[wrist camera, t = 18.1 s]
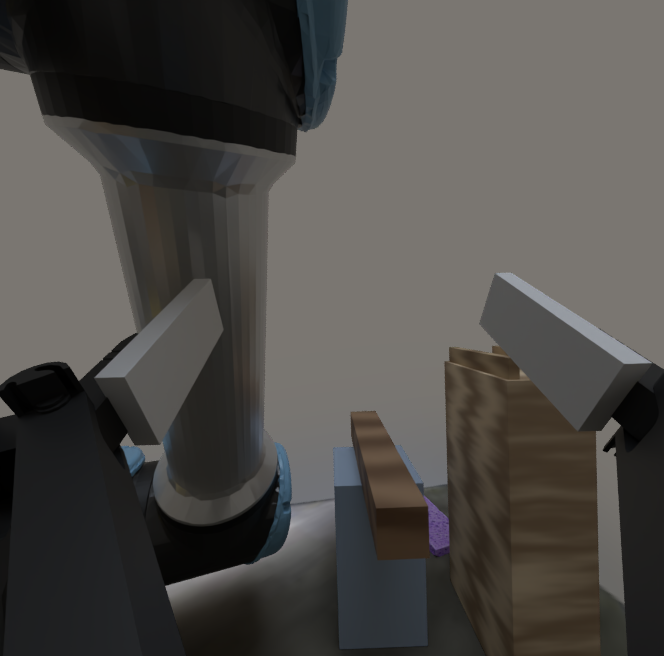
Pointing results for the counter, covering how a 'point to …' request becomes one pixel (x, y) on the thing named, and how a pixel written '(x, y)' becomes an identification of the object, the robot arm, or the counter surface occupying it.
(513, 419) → the oak post
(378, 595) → the blue step
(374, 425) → the walnut bar
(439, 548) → the sponges
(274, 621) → the counter surface
